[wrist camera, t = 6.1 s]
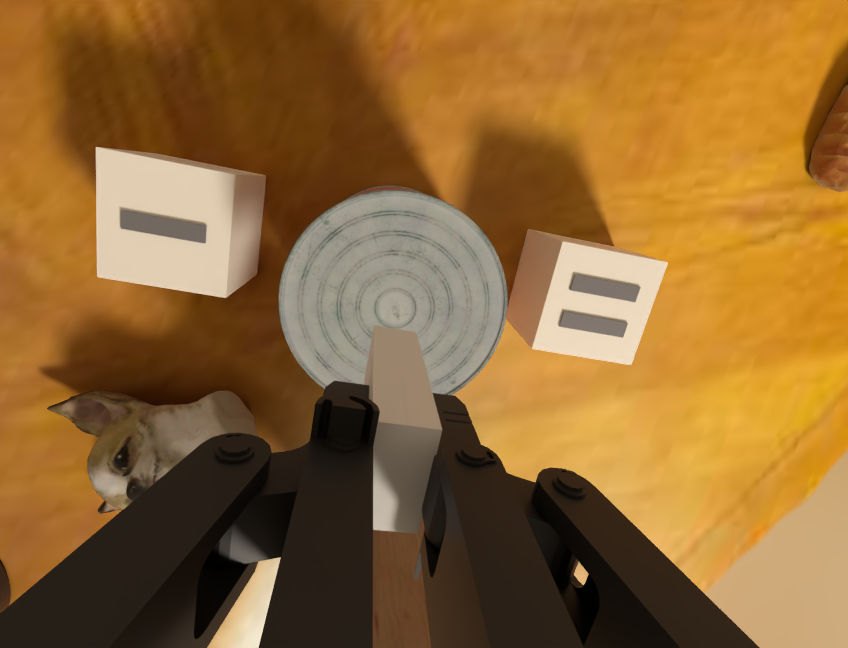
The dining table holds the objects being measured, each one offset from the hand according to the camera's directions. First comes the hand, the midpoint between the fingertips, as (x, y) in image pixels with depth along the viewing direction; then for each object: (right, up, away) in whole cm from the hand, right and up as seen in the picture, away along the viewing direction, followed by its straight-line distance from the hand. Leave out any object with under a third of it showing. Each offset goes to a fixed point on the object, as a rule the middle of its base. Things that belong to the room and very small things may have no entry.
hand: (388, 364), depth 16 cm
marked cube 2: (-14, +9, +16) cm, 23 cm away
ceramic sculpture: (-18, -7, +21) cm, 28 cm away
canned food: (-1, +6, +18) cm, 19 cm away
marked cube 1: (+12, +5, +19) cm, 23 cm away
